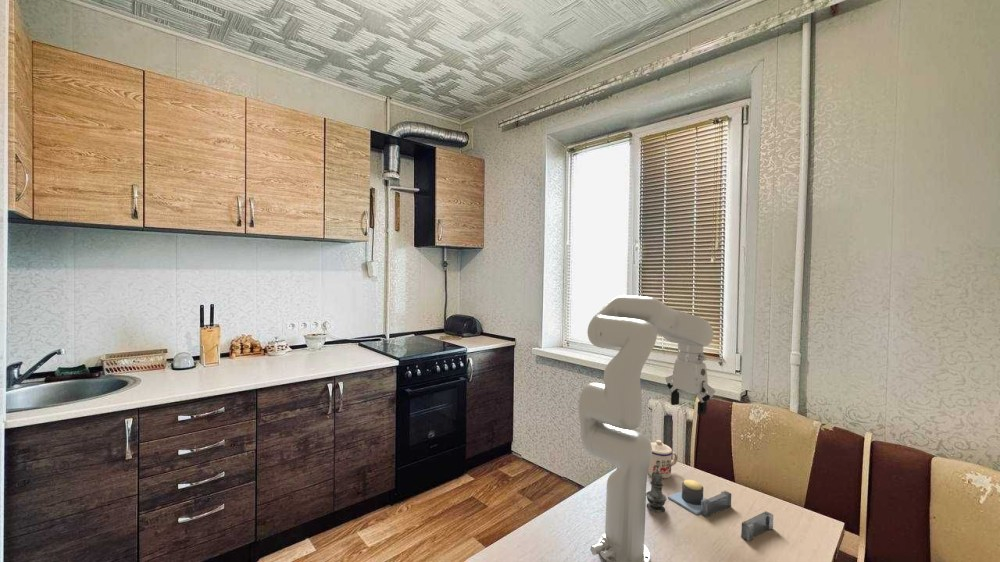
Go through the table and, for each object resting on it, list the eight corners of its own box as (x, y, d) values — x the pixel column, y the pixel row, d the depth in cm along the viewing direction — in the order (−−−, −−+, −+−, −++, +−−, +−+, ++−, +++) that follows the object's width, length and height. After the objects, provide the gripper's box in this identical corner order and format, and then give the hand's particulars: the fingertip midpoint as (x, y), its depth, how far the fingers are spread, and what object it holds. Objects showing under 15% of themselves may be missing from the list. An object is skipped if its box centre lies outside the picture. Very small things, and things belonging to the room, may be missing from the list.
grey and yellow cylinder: (695, 507, 121) (695, 490, 121) (677, 497, 126) (678, 481, 126) (707, 501, 124) (707, 486, 124) (689, 492, 129) (690, 477, 129)
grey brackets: (748, 541, 107) (749, 526, 107) (700, 513, 119) (701, 500, 119) (772, 528, 113) (773, 514, 112) (724, 503, 125) (725, 490, 125)
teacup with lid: (653, 480, 138) (654, 446, 137) (639, 467, 147) (640, 436, 146) (684, 478, 140) (685, 445, 139) (669, 465, 148) (670, 434, 148)
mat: (696, 515, 118) (696, 513, 118) (667, 497, 127) (667, 496, 127) (716, 506, 123) (716, 504, 123) (687, 490, 132) (687, 488, 132)
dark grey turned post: (668, 515, 118) (669, 475, 117) (647, 512, 119) (648, 472, 119) (664, 503, 123) (665, 465, 123) (644, 501, 125) (645, 463, 124)
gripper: (722, 361, 123) (720, 416, 123) (674, 351, 138) (672, 399, 139) (707, 363, 120) (705, 419, 120) (660, 352, 135) (658, 402, 135)
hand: (687, 409), depth 129 cm, fingers open, 9 cm apart
